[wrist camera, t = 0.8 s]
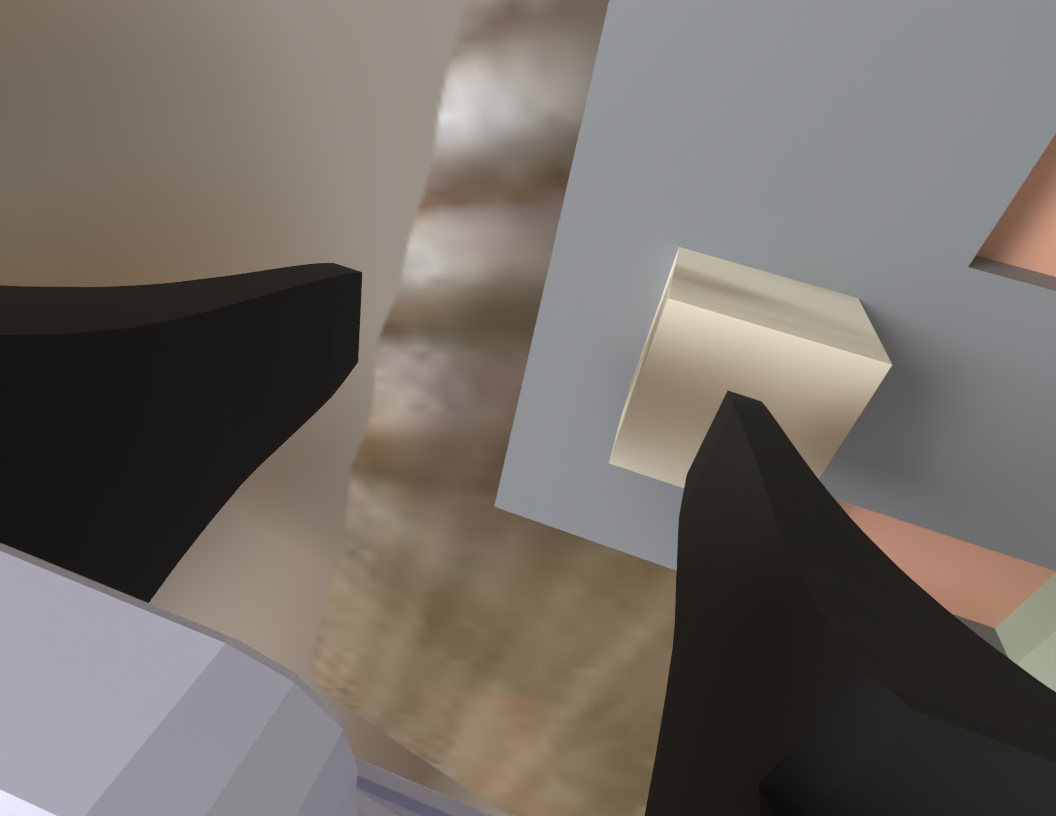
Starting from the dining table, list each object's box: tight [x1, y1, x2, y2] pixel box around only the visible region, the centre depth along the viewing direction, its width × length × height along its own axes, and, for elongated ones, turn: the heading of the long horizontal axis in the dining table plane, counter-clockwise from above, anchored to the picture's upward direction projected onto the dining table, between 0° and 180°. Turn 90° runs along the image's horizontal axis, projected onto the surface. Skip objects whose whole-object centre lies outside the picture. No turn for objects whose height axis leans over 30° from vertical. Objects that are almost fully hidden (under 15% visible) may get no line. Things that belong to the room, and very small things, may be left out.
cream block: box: [609, 247, 892, 488], centre depth 16 cm, size 5×5×4 cm
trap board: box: [494, 0, 1056, 692], centre depth 17 cm, size 19×27×4 cm
